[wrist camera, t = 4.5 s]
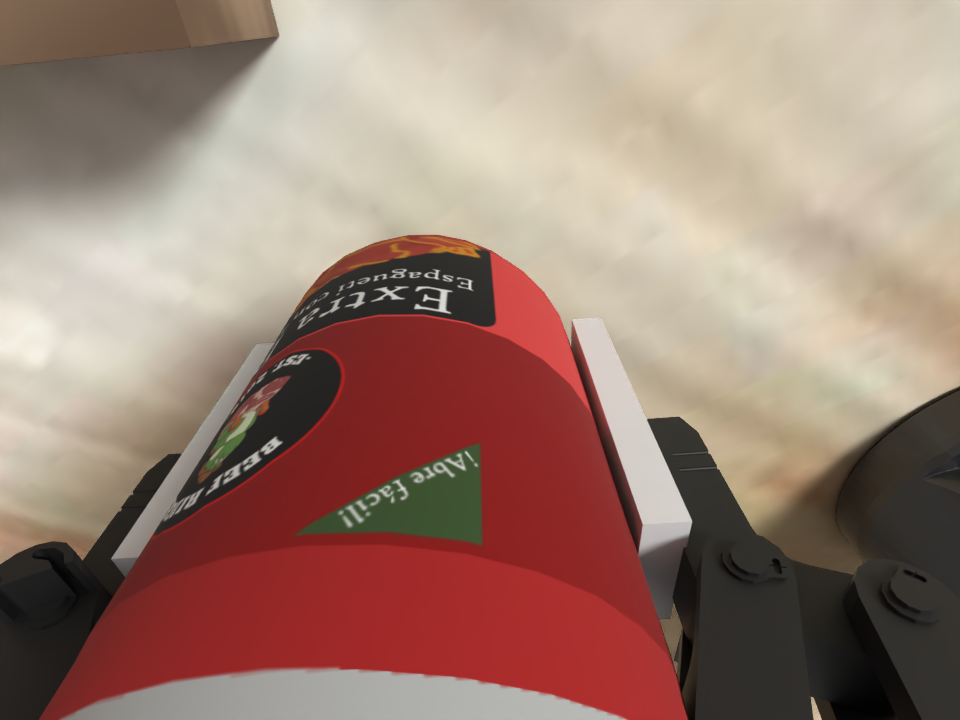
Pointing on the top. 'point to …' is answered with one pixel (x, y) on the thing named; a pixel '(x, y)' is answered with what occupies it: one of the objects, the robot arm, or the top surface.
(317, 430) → the canned food
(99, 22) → the walnut stand
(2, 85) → the top surface
